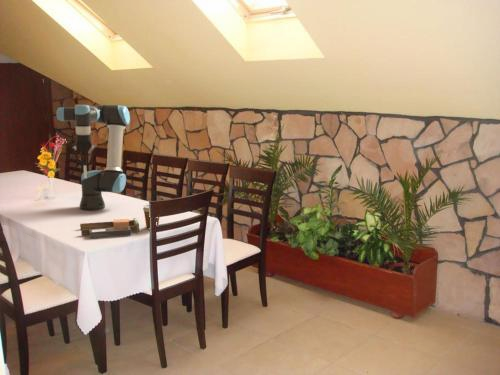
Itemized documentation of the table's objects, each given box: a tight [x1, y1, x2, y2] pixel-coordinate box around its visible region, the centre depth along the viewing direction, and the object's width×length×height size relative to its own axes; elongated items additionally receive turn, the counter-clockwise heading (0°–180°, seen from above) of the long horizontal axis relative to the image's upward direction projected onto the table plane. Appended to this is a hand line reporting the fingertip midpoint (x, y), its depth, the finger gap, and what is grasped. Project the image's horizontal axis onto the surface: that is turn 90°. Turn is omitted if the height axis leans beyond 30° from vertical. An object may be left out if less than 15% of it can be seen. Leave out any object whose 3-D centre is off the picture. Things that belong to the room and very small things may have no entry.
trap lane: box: [79, 217, 140, 239], centre depth 274 cm, size 19×29×4 cm, turn 110°
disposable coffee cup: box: [142, 204, 160, 230], centre depth 282 cm, size 10×10×12 cm
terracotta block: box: [112, 218, 130, 230], centre depth 279 cm, size 6×8×5 cm
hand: (85, 177), depth 282 cm, fingers closed
